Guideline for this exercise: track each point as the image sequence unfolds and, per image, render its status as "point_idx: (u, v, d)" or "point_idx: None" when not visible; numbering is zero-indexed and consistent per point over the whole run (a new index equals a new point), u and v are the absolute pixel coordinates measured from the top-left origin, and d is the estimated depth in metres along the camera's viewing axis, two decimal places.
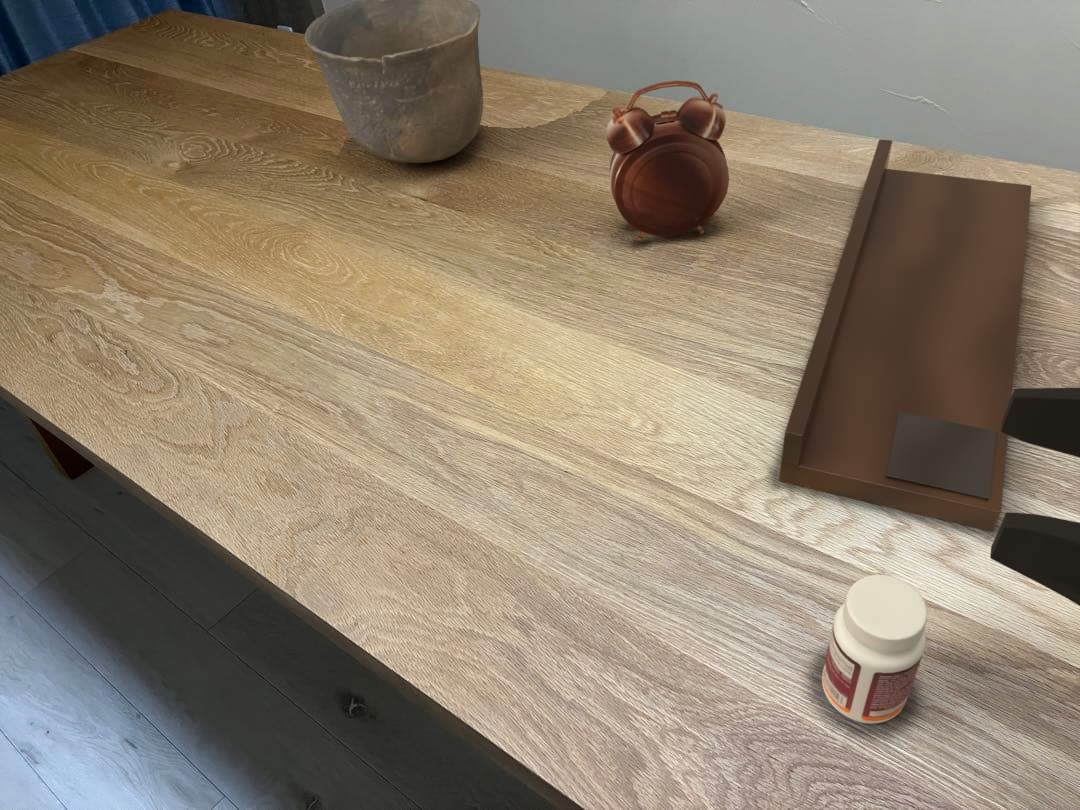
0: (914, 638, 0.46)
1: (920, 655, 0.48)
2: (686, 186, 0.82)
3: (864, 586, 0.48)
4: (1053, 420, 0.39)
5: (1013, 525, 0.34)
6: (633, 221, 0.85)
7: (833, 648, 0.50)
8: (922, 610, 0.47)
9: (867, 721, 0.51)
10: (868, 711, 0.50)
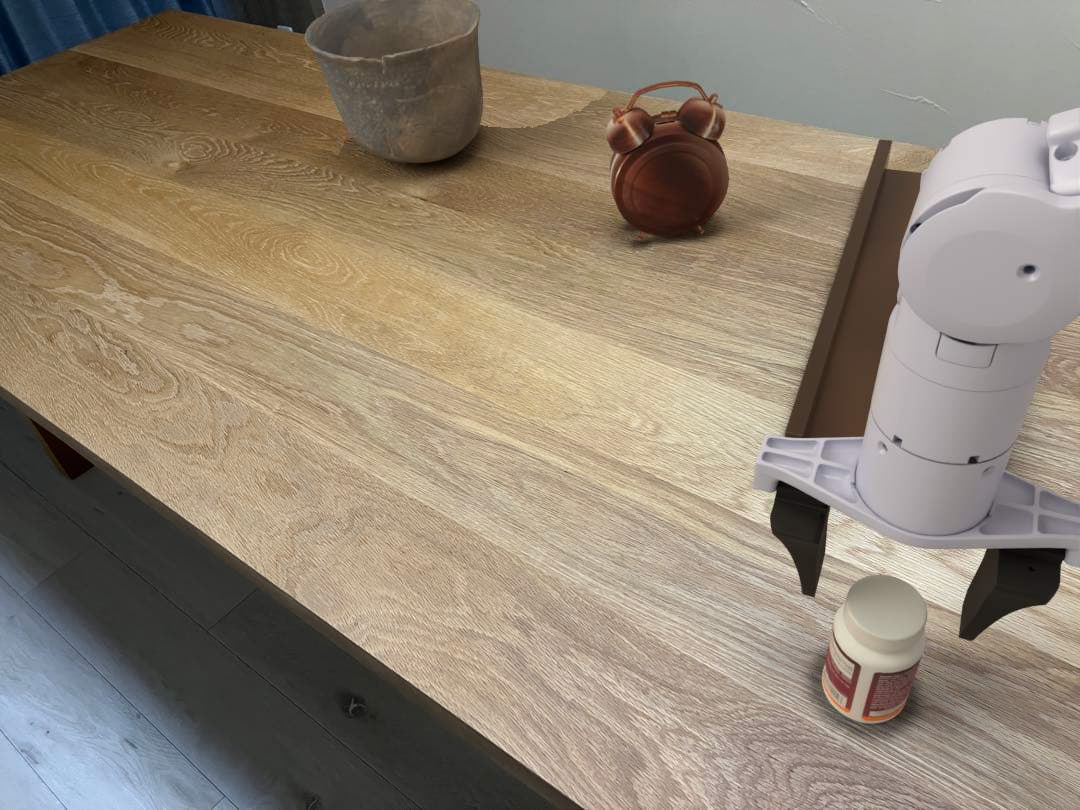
0: (914, 638, 0.46)
1: (920, 655, 0.48)
2: (686, 186, 0.82)
3: (864, 586, 0.48)
4: (970, 599, 0.45)
5: None
6: (633, 221, 0.85)
7: (833, 648, 0.50)
8: (922, 610, 0.47)
9: (867, 721, 0.51)
10: (868, 711, 0.50)
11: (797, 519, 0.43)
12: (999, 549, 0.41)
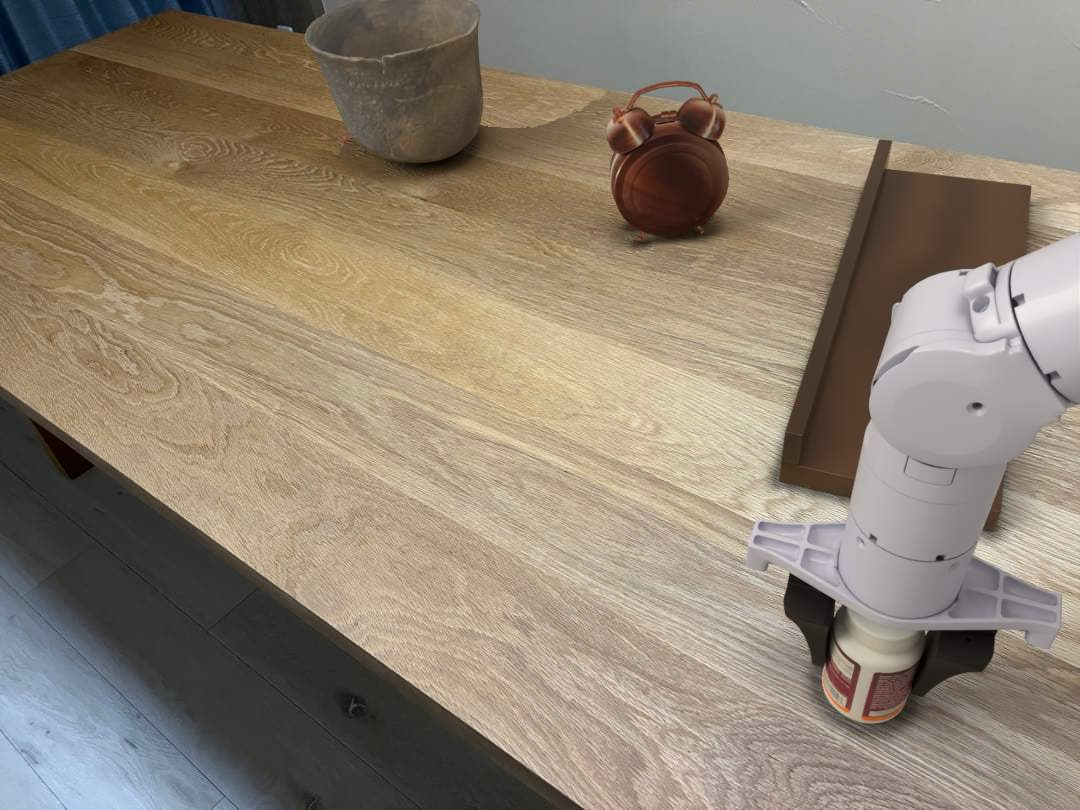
0: (914, 638, 0.46)
1: (920, 655, 0.48)
2: (686, 186, 0.82)
3: None
4: None
5: None
6: (633, 221, 0.85)
7: (833, 648, 0.50)
8: None
9: (867, 721, 0.51)
10: (868, 711, 0.50)
11: (808, 603, 0.47)
12: None
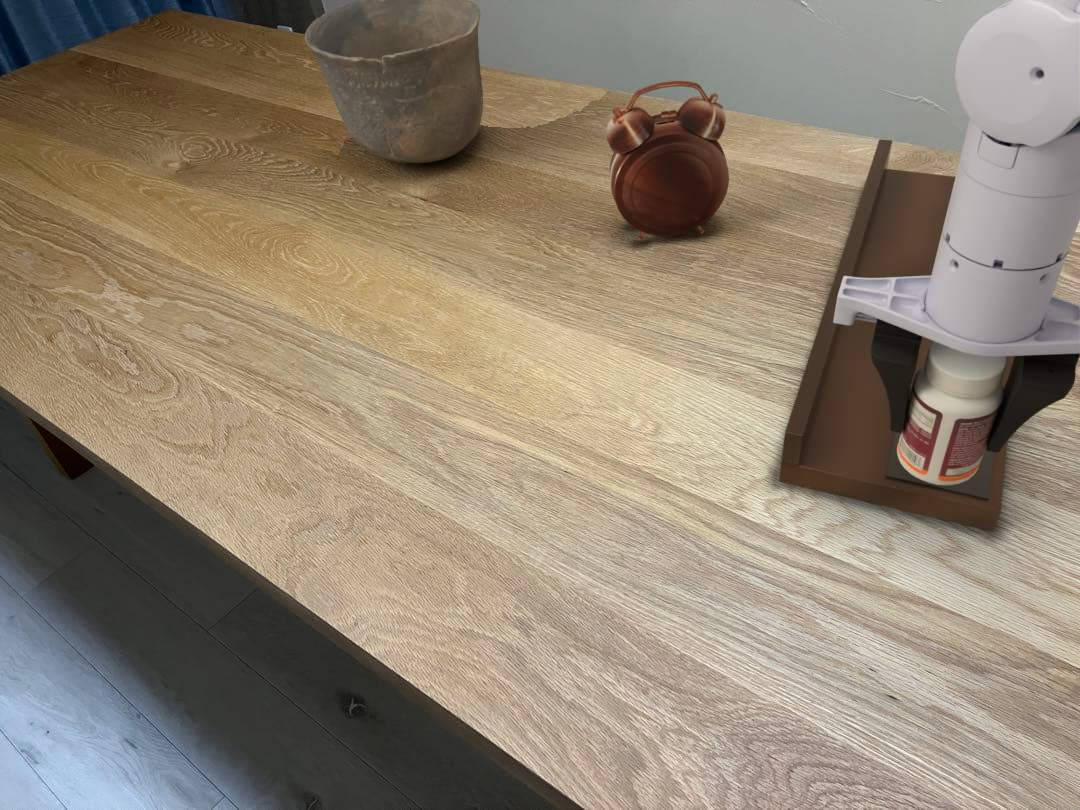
0: (995, 380, 0.49)
1: (999, 403, 0.50)
2: (686, 186, 0.82)
3: None
4: None
5: None
6: (633, 221, 0.85)
7: (913, 406, 0.52)
8: (1002, 357, 0.50)
9: (943, 482, 0.54)
10: (945, 469, 0.53)
11: (895, 350, 0.50)
12: (1023, 357, 0.48)
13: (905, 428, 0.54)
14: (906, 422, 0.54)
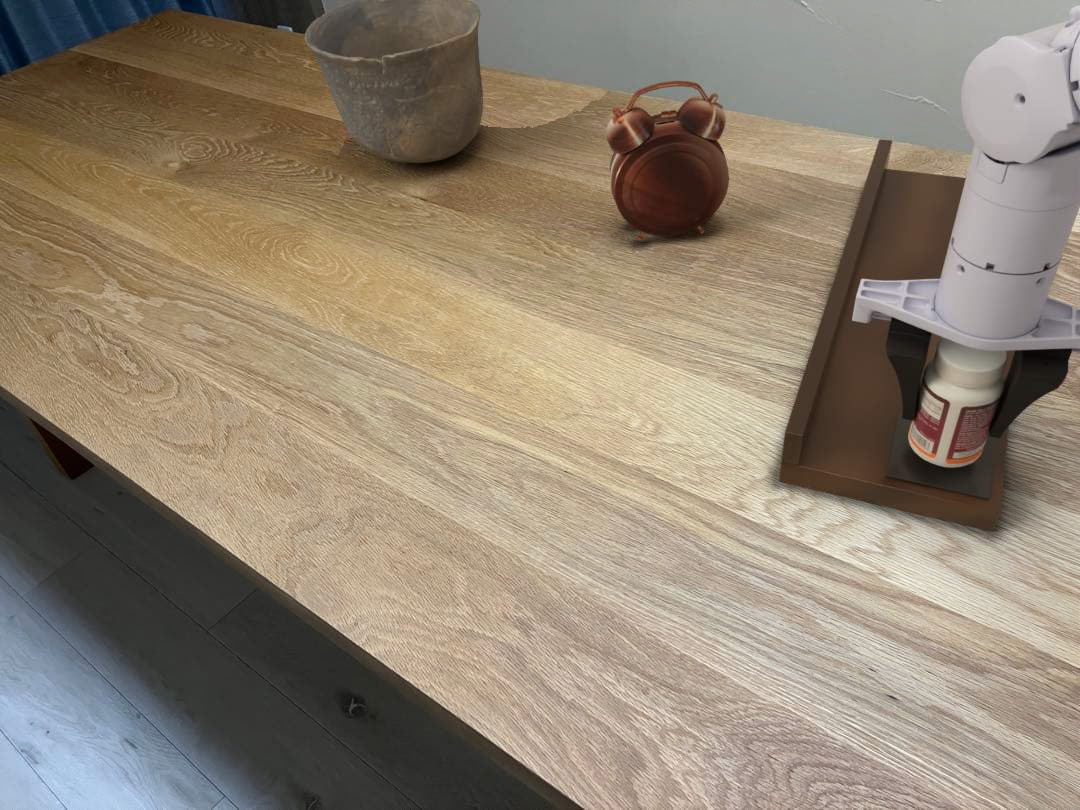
0: (997, 372, 0.55)
1: (1000, 393, 0.56)
2: (686, 186, 0.82)
3: None
4: (998, 404, 0.58)
5: None
6: (633, 221, 0.85)
7: (923, 396, 0.58)
8: (1003, 351, 0.56)
9: (950, 464, 0.60)
10: (952, 453, 0.59)
11: (907, 345, 0.55)
12: (1022, 352, 0.54)
13: (916, 416, 0.60)
14: (917, 410, 0.60)
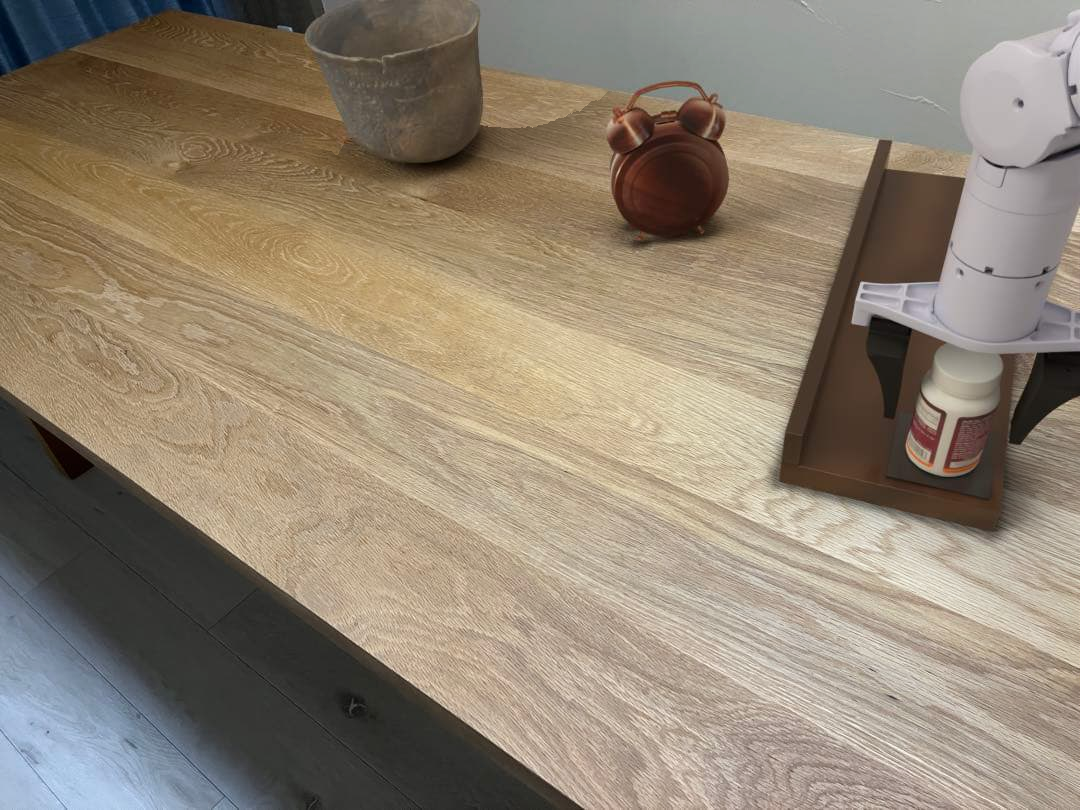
0: (993, 383, 0.56)
1: (996, 403, 0.57)
2: (686, 186, 0.82)
3: (949, 348, 0.58)
4: (1018, 411, 0.58)
5: None
6: (633, 221, 0.85)
7: (920, 406, 0.59)
8: (999, 362, 0.56)
9: (947, 474, 0.60)
10: (949, 462, 0.60)
11: (887, 344, 0.56)
12: (1043, 359, 0.54)
13: (913, 425, 0.61)
14: (914, 420, 0.60)
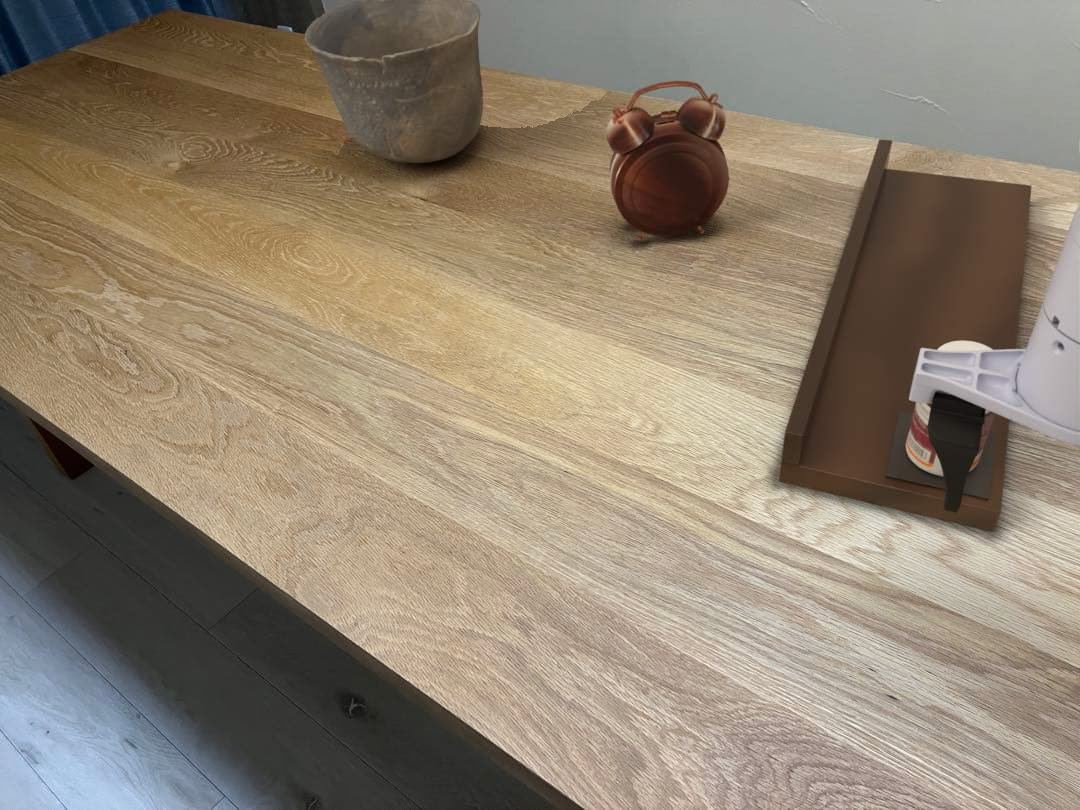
0: None
1: None
2: (686, 186, 0.82)
3: (949, 348, 0.58)
4: None
5: None
6: (633, 221, 0.85)
7: (920, 406, 0.59)
8: None
9: None
10: None
11: (955, 428, 0.44)
12: None
13: (913, 425, 0.61)
14: (914, 420, 0.60)
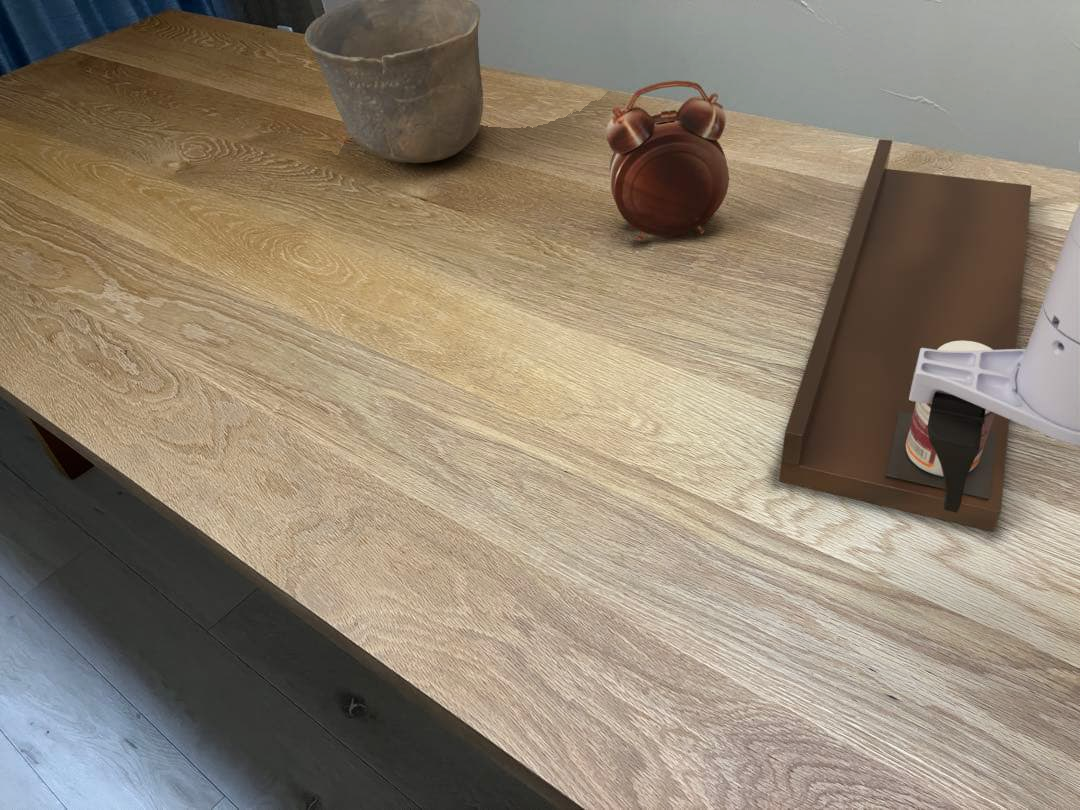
0: None
1: None
2: (686, 186, 0.82)
3: (949, 348, 0.58)
4: None
5: None
6: (633, 221, 0.85)
7: (920, 406, 0.59)
8: None
9: None
10: None
11: (955, 428, 0.44)
12: None
13: (913, 425, 0.61)
14: (914, 420, 0.60)
